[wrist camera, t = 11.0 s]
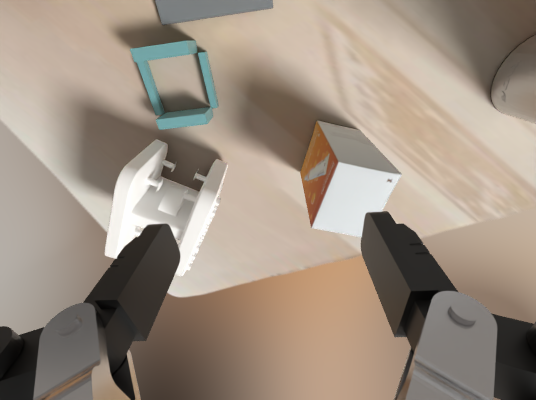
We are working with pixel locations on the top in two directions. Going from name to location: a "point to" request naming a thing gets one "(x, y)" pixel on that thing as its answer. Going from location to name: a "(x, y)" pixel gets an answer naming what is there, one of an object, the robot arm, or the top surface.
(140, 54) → the teal corner cradle
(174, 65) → the top surface
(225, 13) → the mat
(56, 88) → the top surface
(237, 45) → the top surface
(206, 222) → the cable organizer
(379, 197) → the small box
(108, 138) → the top surface
